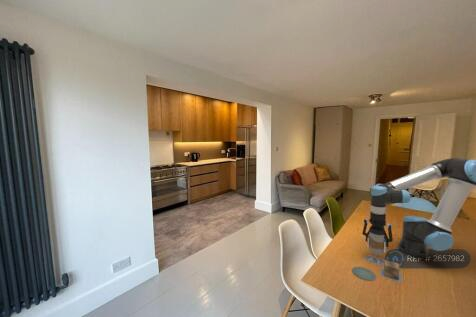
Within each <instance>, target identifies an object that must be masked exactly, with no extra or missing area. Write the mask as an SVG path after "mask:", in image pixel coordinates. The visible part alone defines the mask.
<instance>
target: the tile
mask: <svg viewBox="0 0 476 317" xmlns="http://www.w3.org/2000/svg"><path fill="white" fill-rule="evenodd" d="M385 260H386V259H384V258H381V257H377V256H375V255H372V254H369V253H367V255H366V257H365V259H364V261H365V262H367V263H368V262H369V263H371V264H373V265H377V266H379V267H382V268H384V261H385Z"/></svg>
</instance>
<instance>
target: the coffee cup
mask: <svg viewBox="0 0 476 317" xmlns="http://www.w3.org/2000/svg"><path fill="white" fill-rule="evenodd" d="M371 226H372V225H371ZM371 226H369V229H368V231H369V236H370V237H369V238H370V247H369V250H370V253H371V254H374V255H377V256H381V255H383V253H384V241H385V238H384V235H385V233H386V234H387V232H386V229H385V228H384V231H383V230H382V231H381V229H379V228H375V227H373V229H372V228H371ZM384 232H385V233H384Z"/></svg>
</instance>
